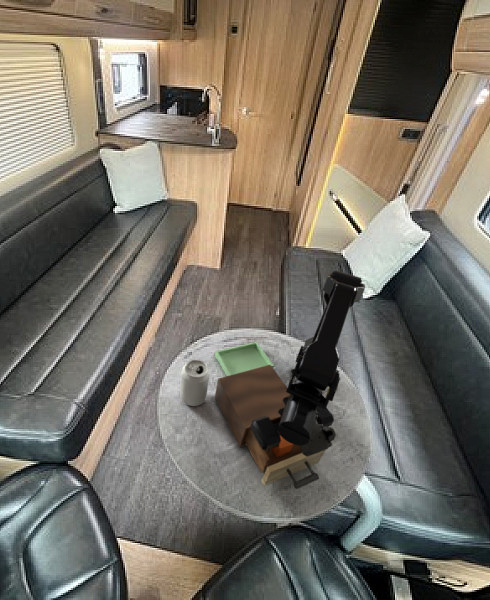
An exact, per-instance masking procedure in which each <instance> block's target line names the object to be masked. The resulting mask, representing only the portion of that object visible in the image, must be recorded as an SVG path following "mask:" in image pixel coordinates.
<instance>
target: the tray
mask: <svg viewBox="0 0 490 600" xmlns="http://www.w3.org/2000/svg"><path fill="white" fill-rule="evenodd" d="M214 356H215V358H216V360H217V363H218V364H219V365H220V367H221V369H222V370H223V372H224V374H225V375H226V376H230V375H233V374H237V373H241V372H244V371H248V370H252V369H256V368H259V367H263V366H267V365H271V366H272V368H273V369H274V368H275V365H274V363H273V362H272V361H271V359H270V358H269V356H268V355H267V354H266V353H265V351H264V349H262V347H261V346H260V344H259V343H258V342H257V341H254V342H250V343H246V344H241V345H237V346H233V347H228V348H224V349H220V350H216V351H215V355H214Z"/></svg>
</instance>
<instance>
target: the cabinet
mask: <svg viewBox="0 0 490 600" xmlns="http://www.w3.org/2000/svg"><path fill="white" fill-rule="evenodd" d="M287 387H288V386H286V384H285V382H283V380H282V378H281V377H280V376H279V374H278V373H277V372H276V370H275V369H274V368H272V366H271V365H267V366H263V367H259V368H256V369H252V370H248V371H244V372H241V373H237V374H233V375H230V376H227V375H226V376H222V377H218V378H217V384H216V387H215V393H214V399H215V401H216V403H217V405H218V406H219V409H220V411H221V413H222V415H223V417H224V419H225V421H226V423H227V425H228V427H229V429H230V431H231V433H232V434H233V436H234V438H235V440H236V443H237V444H238V446H239V448H241V447H244V446H247V445H246V443H245V441H244V440H245V437H246V433H247V430H248V429H250V427H251V424H252V421H253V420H255V419H258V418H261V417H264V416H267V417H269V418H270V420H271V421H274V420H277V419H279V418H281V416H280V414H279V413H278V411H279V409H282V408H284V407H285V404H284V402H283V398H285V397H288V396H289V395H290V394H289V393H287V392H286V390H287Z"/></svg>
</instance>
